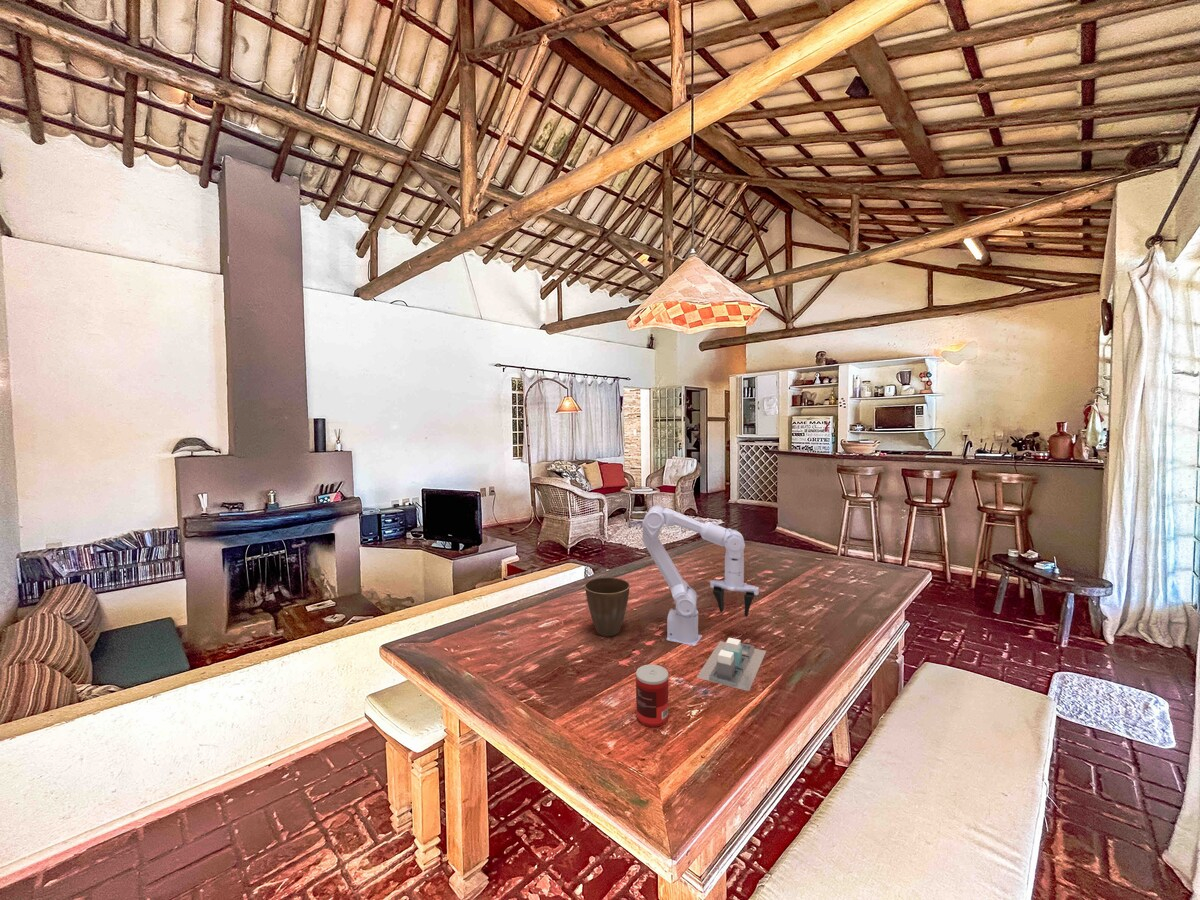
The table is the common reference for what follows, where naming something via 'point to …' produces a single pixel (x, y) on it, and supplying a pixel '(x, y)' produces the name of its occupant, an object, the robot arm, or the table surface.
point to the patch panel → (742, 672)
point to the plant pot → (607, 603)
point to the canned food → (652, 695)
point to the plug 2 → (726, 665)
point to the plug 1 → (735, 649)
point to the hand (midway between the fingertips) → (733, 613)
